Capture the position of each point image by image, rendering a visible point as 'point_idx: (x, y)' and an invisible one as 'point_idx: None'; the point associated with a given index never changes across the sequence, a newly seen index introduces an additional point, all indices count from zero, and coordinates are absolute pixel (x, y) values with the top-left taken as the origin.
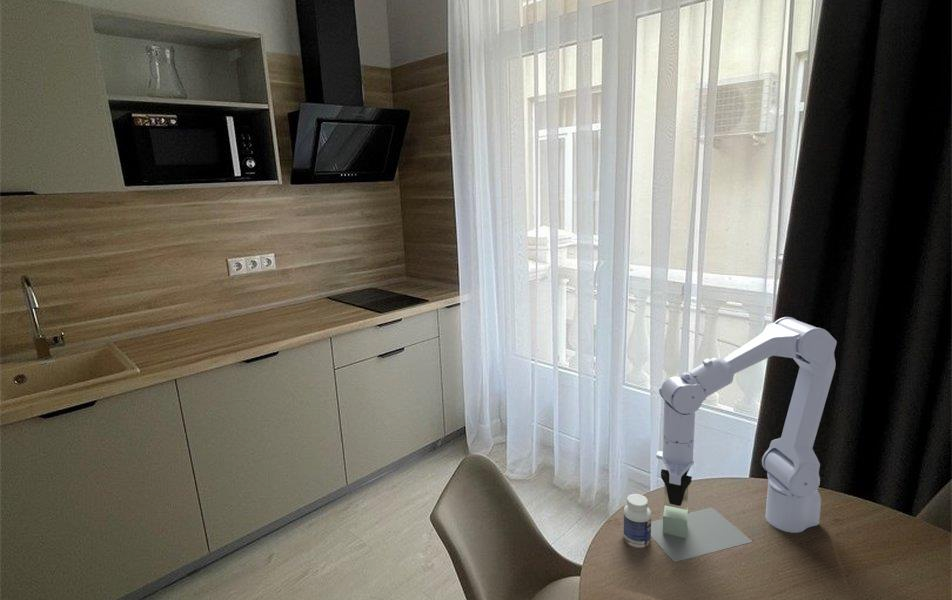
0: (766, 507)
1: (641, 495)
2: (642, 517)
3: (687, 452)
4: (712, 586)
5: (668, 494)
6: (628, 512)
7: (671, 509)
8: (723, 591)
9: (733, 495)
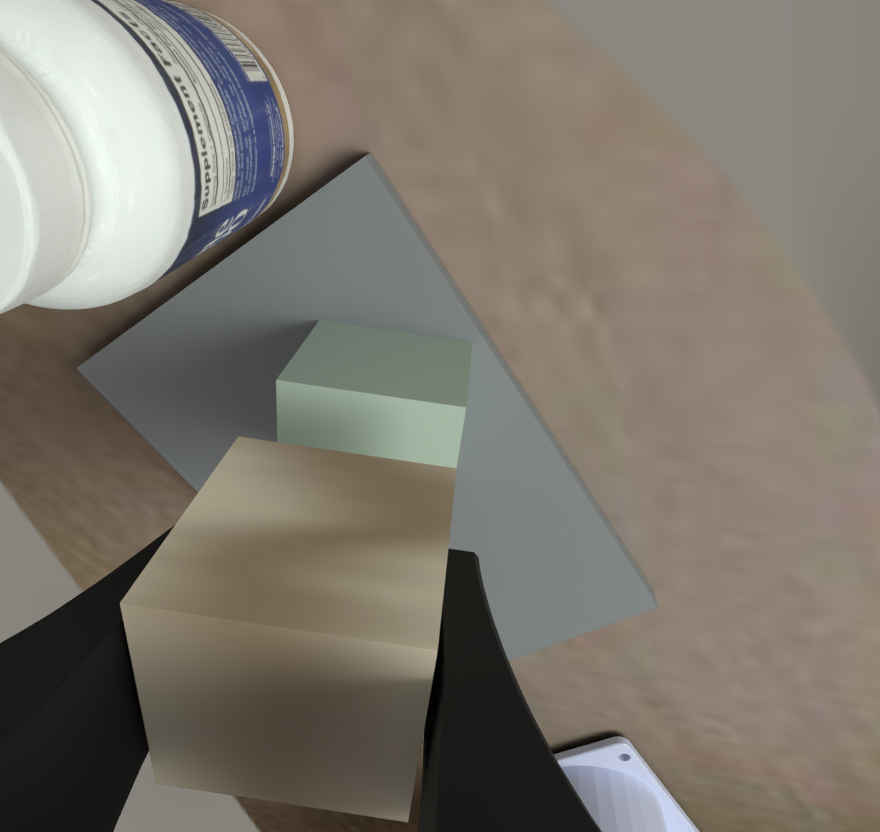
0: (603, 830)
1: (12, 245)
2: None
3: None
4: (50, 504)
5: (107, 579)
6: None
7: (386, 447)
8: (47, 537)
9: (810, 696)
